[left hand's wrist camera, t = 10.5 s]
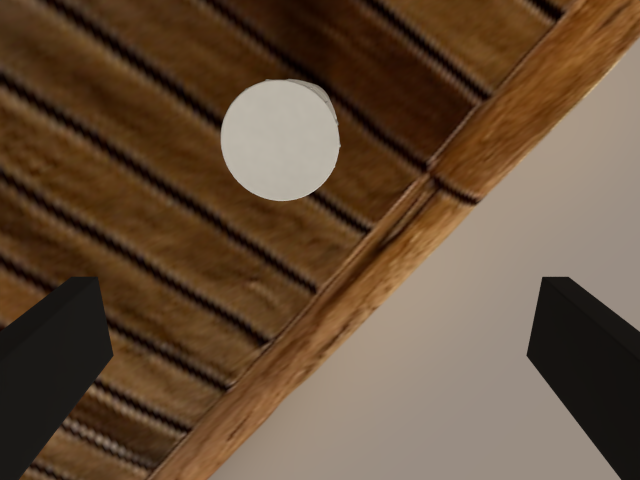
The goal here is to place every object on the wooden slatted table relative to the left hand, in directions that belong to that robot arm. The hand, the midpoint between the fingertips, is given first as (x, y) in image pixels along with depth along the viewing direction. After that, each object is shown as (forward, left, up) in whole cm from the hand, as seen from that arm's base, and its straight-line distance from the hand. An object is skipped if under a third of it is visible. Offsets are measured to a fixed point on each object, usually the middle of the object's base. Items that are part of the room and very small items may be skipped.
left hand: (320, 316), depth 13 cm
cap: (-4, +3, -5) cm, 7 cm away
